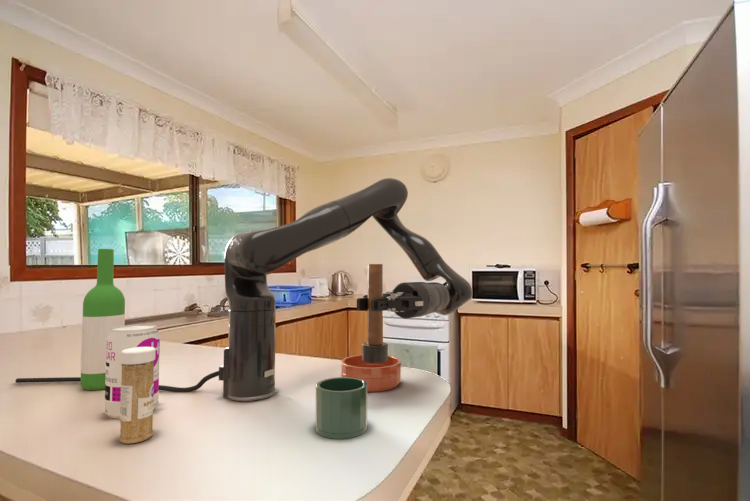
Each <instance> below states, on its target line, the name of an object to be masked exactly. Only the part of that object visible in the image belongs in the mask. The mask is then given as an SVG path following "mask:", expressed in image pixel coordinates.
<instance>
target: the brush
mask: <svg viewBox="0 0 750 501" xmlns="http://www.w3.org/2000/svg"><path fill="white" fill-rule="evenodd" d="M383 266H384V265H383V263H368V264H367V295H368V309H367V341H366V342H363V343H362V344H361V350H362V351H361V355H362V360H363V361H364V362H368V363H382V362H386V361H387V360H388V356H389V343H387V342H384V341H383V332H384V331H383V322H384V321H383V314H384V313H383V311H371V300H372V299H379V298H383V293H384V292H383V290H384V289H383V288H384V287H383V284H384V282H383V281H384V280H383V277H384V276H383V274H384V272H383V271H384V270H383V268H384V267H383Z"/></svg>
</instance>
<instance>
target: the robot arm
mask: <svg viewBox="0 0 750 501" xmlns="http://www.w3.org/2000/svg"><path fill="white" fill-rule="evenodd" d="M408 196H409V192H408V188H407V185H406V184H405V183H404V182H403V181H401V180H399V179H397V178H392V177H385V178H382V179H380V180H378V181H376V182H373V183H372V184H371V185H369V186H367V187H364V188H363V189H361V190H359V191H355V192H353V193H350V194H348V195H345V196H343V197H340V198H337V199H334V200H332V201H328V202H326V203H323V204H320V205H317V206H316V207H313V208H312V209H310V210H308V211H306V212H305V213H303V214H302V215H301V216H300V217H298V218H297V219H296V220H294V221H292V222H289V223H286V224H283V225H280V226H276V227H272V228H266V229H261V230H254V231H245V232H241V233H237V234H236V235H234V236H233V237H232V238H231V239H230V240H229V241H228V243H227V244H226V247H225V250H224V291H225V297H226V299H227V302H228V329H227V330H228V335H227V336H228V337H227V339H228V340H227V341H228V342H227V343H228V344H227V347H225V348H224V349H223V365H220V366H219V367H218V370H216V371H214V372H211V373H209V374H207V375H206V376H203V377H202V378H201V379H200V380H199V381H198V382H197V383H196V384H195V385H192V386H187V387H177V386H170V385H162V384H159V391H163V392H164V391H165V392H172V393H190V392H194V391H197V390H199V389H200V388H202V387H203V386H204V384H205V383H206V382H208V381H209V380H212V379H213V378H216V377H218V381H222V386H223V388H222V398H224V399H225V398H226V399H229V400H231V401H237V402H252V401H253V402H254V401H258V400H264V399H267V398H269V397H272V396H274V395H275V393H276V315H277V314H276V313H277V312H276V306H277V304H276V301H277V300H276V299H277V298H276V296H275V294H274V293H273V292H272V291H271V290H270V288H269V285H268V278H267V276H269V275H271V274H273V273H276V271H278V270H280V269H282V268H283V267H284V266H286V265H287V264H289V263H291V262H293V261H294V260H296V259H297V258H300V257H301V256H303V255H304V254H306V253H310V252H312V251H315V250H318V249H320V248H323V247H325V246H327V245H330V244H333V243H335V242H337V241H339V240H341V239H343V238H346V237H347V236H349V235H351V234H352V233H354V232H355V231H357V230H358V229H359V228H360V227H362V226H363V225H364V224H365V223H366V222H367V221H368V220H369V219H370V218H371V217H372V218H373V219H374V221H375V222H377V223H378V225H379V226H380V227H381V228H382V229H383V231H385V232H386V233H387V235H388V236H390V238H391V239H392V240H393V241H394V242H395V243H396V244H397V245H398V246H399V247H400V248H401V249H402V251H403V252H404V253H405V254H406V256H407V257H408V259H409V260H410V262H411V264H413V267H415V269H416V270H417V272H418V273H419V275H420V276H421V278H422V279H423V280H425V281H409V282H400V283H398V284H397V285H395V287H393V289H392V290H391V291H386V292H383V298H379V299H372V300H371V311H387V312H391V313H394V314H395V315H396V316H397V317H400V318H402V319H405V320H406V319H407V320H408V319H412V318H413V319H414V318H419V317H425V316H427V315H430V314H434V313H435V314H438V315H441V316H448V315H450V314H452V313H454V312H455V311H456V310H458V309H459V308H461V307H462V306H463V305H464V304H466V303H467V302H469V301H470V300H471V299H472V297H473V287H472V285H471V284H470V282H469V281H468V280H467V279H466V278H465V277H463V276H462V275H460V274H459V273H458V272H457V271H455V270H454V269H453V268H452V267H451V266H450V265H449V264H448V263H447V262H446V261H445V260H444V258H443V257H442V256H441V254H440V253H439V252H438V250H437V249H436V247H435V246H434V245H433V244H432V243H431V241H430V240H428V239H427V238H426V237H424V236H422V235H420V234H418V233H417V232H414V231H412V230H410V229H409V228H407V227H406V226H405V225H404V224H403V222H402V221H401V219H400V218H399V215H398V214H399V213H400V211H401V210H402V208H403V207H404V205H405V204H406V203H407V199H408ZM440 277H441V278H442V279H444V280H445V282H443V283H440V282H437V281H435V280H437V279H438V278H440ZM433 281H435V282H433ZM356 310H357V311H365V310H366V311H368V294H365V295H362V297H358V298H356ZM14 382H15V383H16V384H17V383H18V384H22V383H24V384H25V383H27V384H28V383H70V382H71V383H72V382H75V383H76V382H77V383H81V376H74V377H73V376H68V377H65V376H64V377H60V376H59V377H21V378H19V377H18V378H16V379H15V381H14Z"/></svg>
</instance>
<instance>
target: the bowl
mask: <svg viewBox="0 0 750 501" xmlns="http://www.w3.org/2000/svg"><path fill="white" fill-rule="evenodd" d="M340 377H352V378H358V379H361V380H364V381H366V383H367V393H369V392H370V393H375V392H384V391H389V390H393V389H394V388H396V387H397V386H398V385H399V384H400V383H401V381H402V359H400V358H398V357H396V356H392V355H388V360H387V361H386V362H382V363H368V362H364V361H363V360H362V354H356V355H355V354H354V355H351V356H347V357H345V358H342V359H341V361H340Z"/></svg>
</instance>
